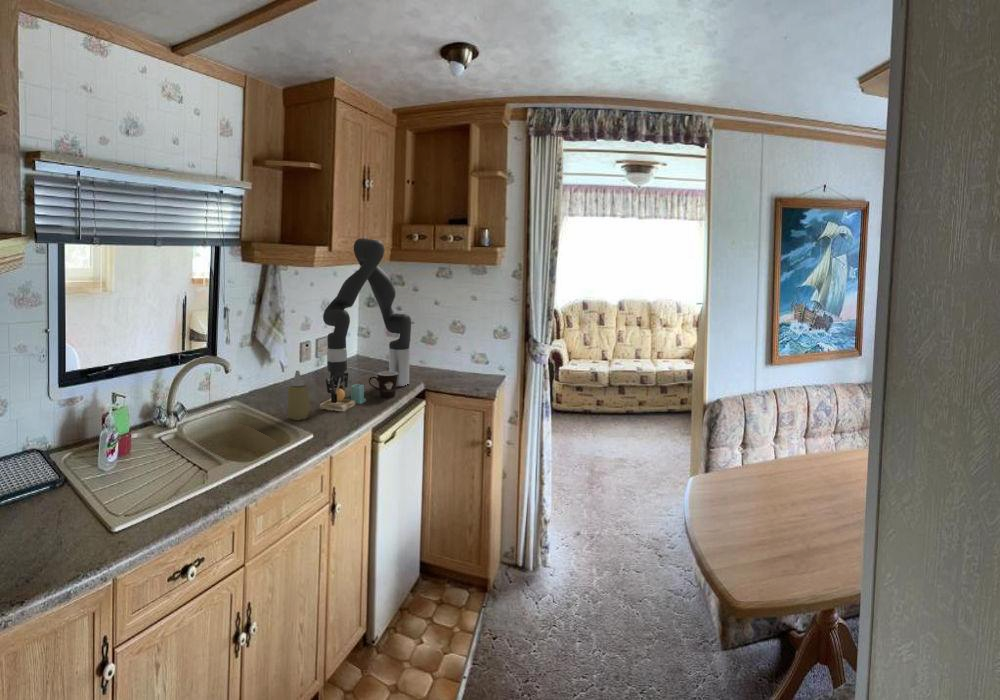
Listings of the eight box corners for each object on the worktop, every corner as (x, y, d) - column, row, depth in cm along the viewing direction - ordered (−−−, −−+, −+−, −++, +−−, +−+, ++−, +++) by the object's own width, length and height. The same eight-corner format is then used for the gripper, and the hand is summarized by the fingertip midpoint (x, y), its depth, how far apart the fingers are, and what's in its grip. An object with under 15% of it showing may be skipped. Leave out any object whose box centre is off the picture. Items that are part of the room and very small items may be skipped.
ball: (335, 399, 230) (334, 385, 229) (347, 400, 229) (347, 387, 228) (328, 402, 225) (327, 389, 224) (340, 403, 224) (340, 390, 223)
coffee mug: (400, 394, 250) (400, 371, 248) (394, 399, 241) (394, 376, 240) (374, 392, 251) (374, 370, 249) (368, 397, 242) (367, 374, 241)
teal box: (354, 400, 238) (354, 383, 237) (365, 401, 237) (365, 384, 236) (349, 403, 233) (348, 386, 232) (360, 404, 232) (360, 387, 231)
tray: (332, 402, 233) (332, 397, 233) (355, 404, 231) (355, 400, 231) (319, 409, 223) (319, 404, 223) (343, 411, 221) (343, 406, 221)
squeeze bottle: (282, 419, 209) (280, 371, 206) (297, 413, 216) (296, 367, 213) (300, 422, 206) (298, 374, 203) (315, 416, 213) (313, 370, 210)
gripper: (337, 355, 231) (338, 395, 234) (318, 361, 218) (319, 404, 221) (354, 356, 230) (354, 397, 233) (336, 363, 216) (337, 406, 219)
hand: (337, 400), depth 227 cm, fingers closed on ball, 5 cm apart
